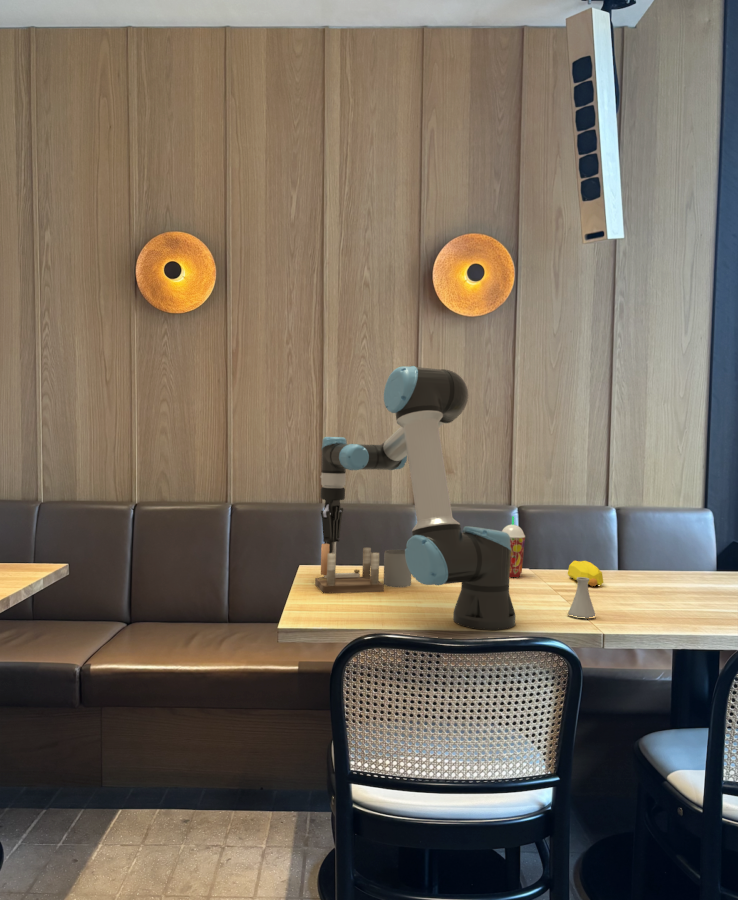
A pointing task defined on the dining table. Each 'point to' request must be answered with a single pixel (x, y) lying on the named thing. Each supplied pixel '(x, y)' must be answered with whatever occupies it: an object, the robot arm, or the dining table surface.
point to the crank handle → (324, 564)
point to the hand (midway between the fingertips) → (330, 562)
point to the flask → (582, 600)
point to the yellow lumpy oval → (585, 572)
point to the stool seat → (352, 583)
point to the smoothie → (515, 548)
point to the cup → (396, 569)
